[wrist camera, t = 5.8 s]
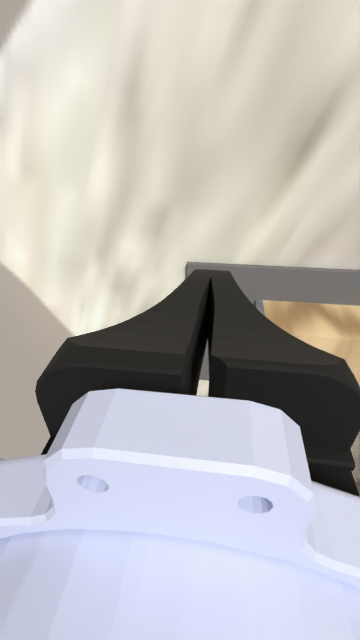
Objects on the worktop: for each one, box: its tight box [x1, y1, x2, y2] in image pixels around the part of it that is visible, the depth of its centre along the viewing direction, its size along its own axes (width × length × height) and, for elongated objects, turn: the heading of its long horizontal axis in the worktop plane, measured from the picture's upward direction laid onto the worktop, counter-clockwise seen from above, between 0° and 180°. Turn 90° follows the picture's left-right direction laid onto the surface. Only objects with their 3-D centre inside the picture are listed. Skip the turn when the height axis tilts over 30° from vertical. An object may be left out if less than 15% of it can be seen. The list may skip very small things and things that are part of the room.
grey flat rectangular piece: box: [187, 262, 360, 380], centre depth 25 cm, size 15×11×1 cm
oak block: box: [255, 300, 360, 386], centre depth 23 cm, size 4×6×8 cm
